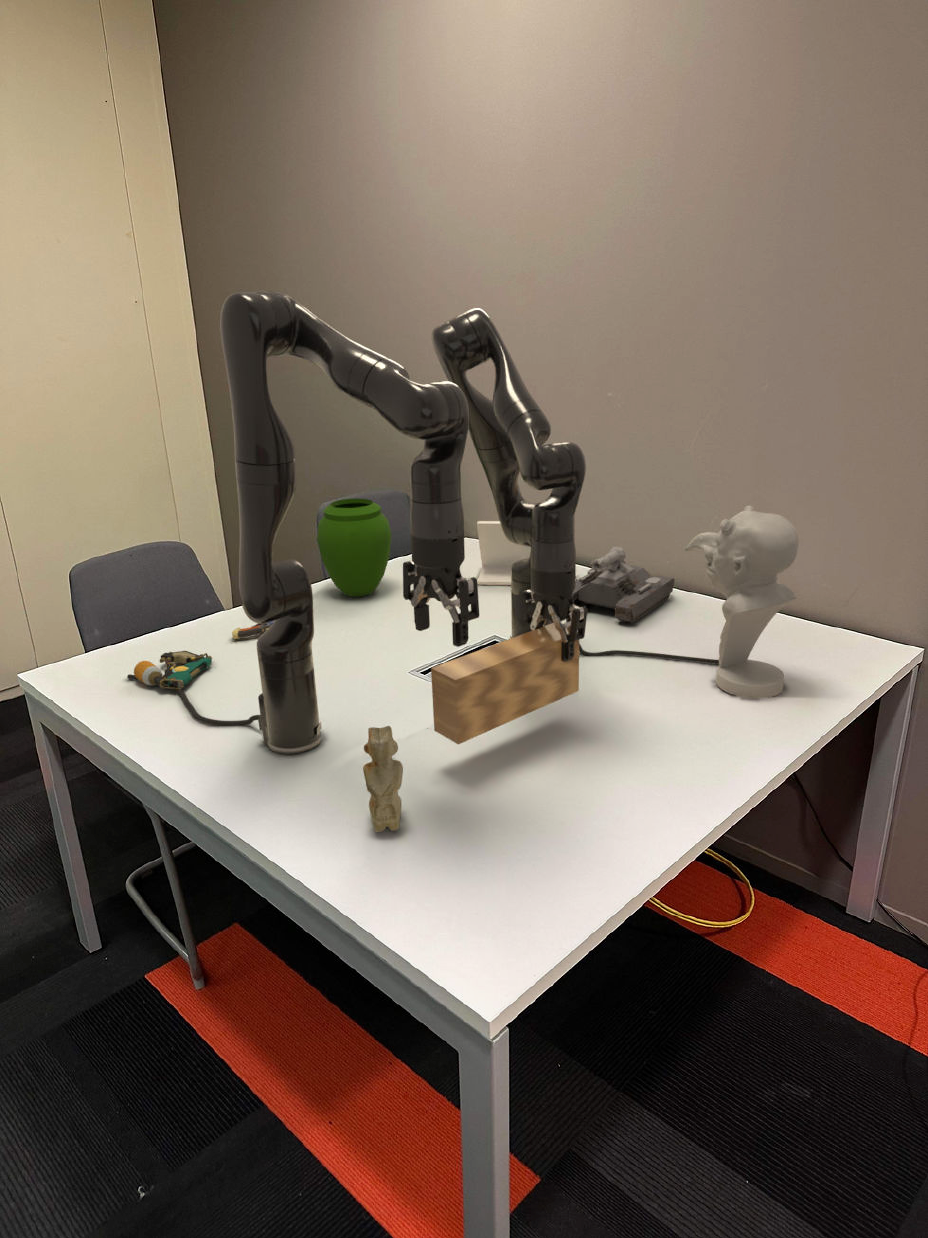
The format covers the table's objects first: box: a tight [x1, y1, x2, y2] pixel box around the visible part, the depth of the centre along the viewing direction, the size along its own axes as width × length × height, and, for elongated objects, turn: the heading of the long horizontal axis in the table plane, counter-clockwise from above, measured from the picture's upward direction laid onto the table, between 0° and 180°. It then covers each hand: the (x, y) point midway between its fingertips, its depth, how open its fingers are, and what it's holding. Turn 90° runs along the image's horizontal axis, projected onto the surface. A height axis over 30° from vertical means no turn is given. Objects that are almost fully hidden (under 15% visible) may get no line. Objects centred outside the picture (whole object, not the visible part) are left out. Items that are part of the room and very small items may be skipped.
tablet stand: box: [476, 520, 531, 586], centre depth 236 cm, size 18×25×17 cm
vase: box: [316, 497, 392, 598], centre depth 225 cm, size 20×20×24 cm
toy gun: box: [231, 620, 275, 640], centre depth 206 cm, size 3×19×10 cm
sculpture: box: [362, 725, 404, 833], centre depth 125 cm, size 6×7×15 cm
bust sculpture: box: [684, 505, 799, 699], centre depth 167 cm, size 16×24×35 cm
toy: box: [572, 546, 676, 624], centre depth 212 cm, size 25×20×15 cm
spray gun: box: [133, 650, 213, 690], centre depth 180 cm, size 4×17×15 cm
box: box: [430, 623, 580, 745], centre depth 144 cm, size 28×6×11 cm, turn 130°
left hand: (441, 637), depth 125 cm, fingers open, 8 cm apart
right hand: (552, 654), depth 149 cm, fingers closed on box, 6 cm apart
